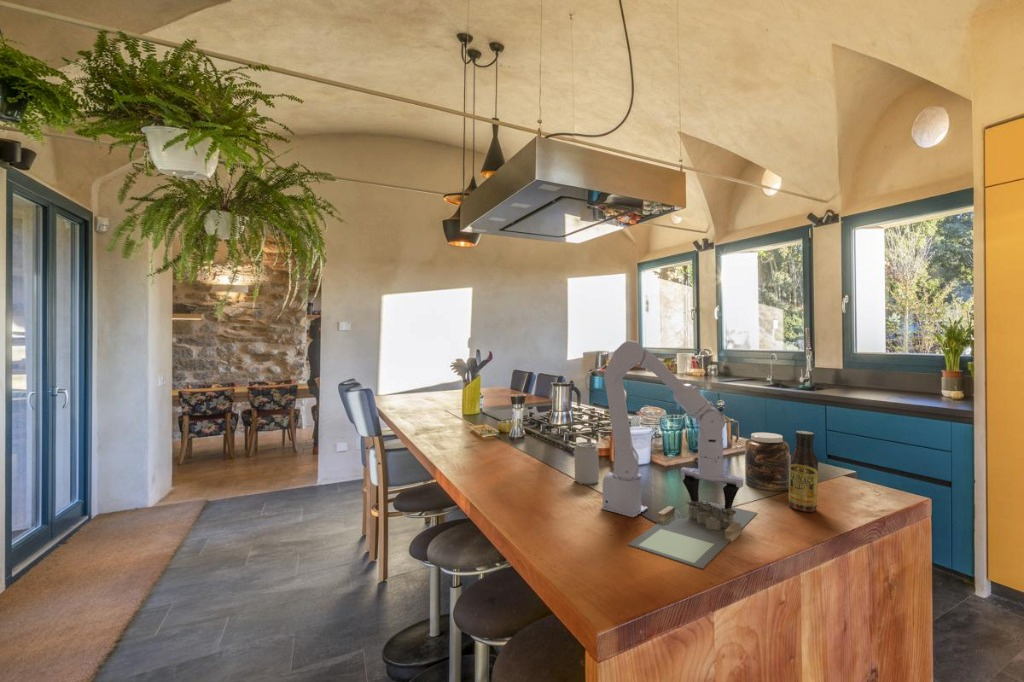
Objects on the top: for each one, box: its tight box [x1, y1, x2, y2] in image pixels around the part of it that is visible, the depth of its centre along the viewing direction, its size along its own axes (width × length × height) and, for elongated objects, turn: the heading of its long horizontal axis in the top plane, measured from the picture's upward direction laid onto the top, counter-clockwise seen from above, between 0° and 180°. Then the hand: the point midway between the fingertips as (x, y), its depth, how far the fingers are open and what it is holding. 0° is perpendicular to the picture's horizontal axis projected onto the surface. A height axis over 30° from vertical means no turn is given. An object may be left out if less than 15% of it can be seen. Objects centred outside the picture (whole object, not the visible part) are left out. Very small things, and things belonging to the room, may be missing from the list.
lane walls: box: [657, 505, 742, 543], centre depth 107 cm, size 17×6×2 cm, turn 47°
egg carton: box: [685, 500, 736, 530], centre depth 110 cm, size 11×8×4 cm
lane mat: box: [627, 500, 758, 570], centre depth 107 cm, size 16×37×1 cm, turn 137°
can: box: [573, 441, 600, 486], centre depth 143 cm, size 8×8×12 cm
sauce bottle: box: [788, 430, 819, 513], centre depth 118 cm, size 7×6×20 cm
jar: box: [744, 432, 791, 492], centre depth 137 cm, size 12×12×15 cm
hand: (711, 510), depth 114 cm, fingers open, 7 cm apart
